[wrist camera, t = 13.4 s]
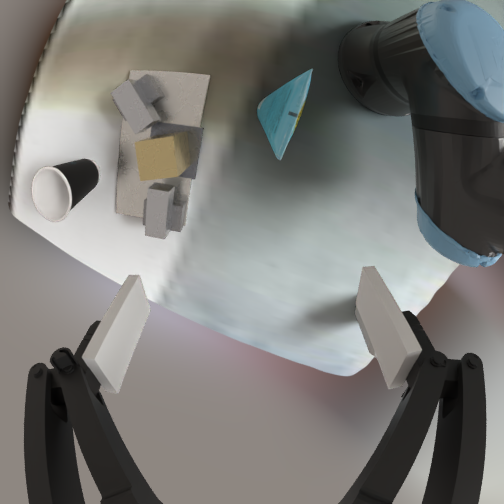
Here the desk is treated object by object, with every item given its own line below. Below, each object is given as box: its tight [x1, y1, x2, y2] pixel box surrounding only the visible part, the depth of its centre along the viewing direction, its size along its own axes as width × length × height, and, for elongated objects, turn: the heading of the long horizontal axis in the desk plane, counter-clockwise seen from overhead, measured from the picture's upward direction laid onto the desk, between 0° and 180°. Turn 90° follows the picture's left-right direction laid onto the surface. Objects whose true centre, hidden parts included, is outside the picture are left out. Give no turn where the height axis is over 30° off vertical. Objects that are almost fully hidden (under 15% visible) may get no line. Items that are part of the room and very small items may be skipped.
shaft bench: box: [111, 70, 211, 239], centre depth 34 cm, size 23×14×6 cm, turn 168°
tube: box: [257, 69, 313, 160], centre depth 26 cm, size 7×5×19 cm, turn 168°
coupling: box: [135, 131, 191, 181], centre depth 33 cm, size 5×5×7 cm
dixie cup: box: [31, 159, 100, 222], centre depth 33 cm, size 8×8×11 cm
